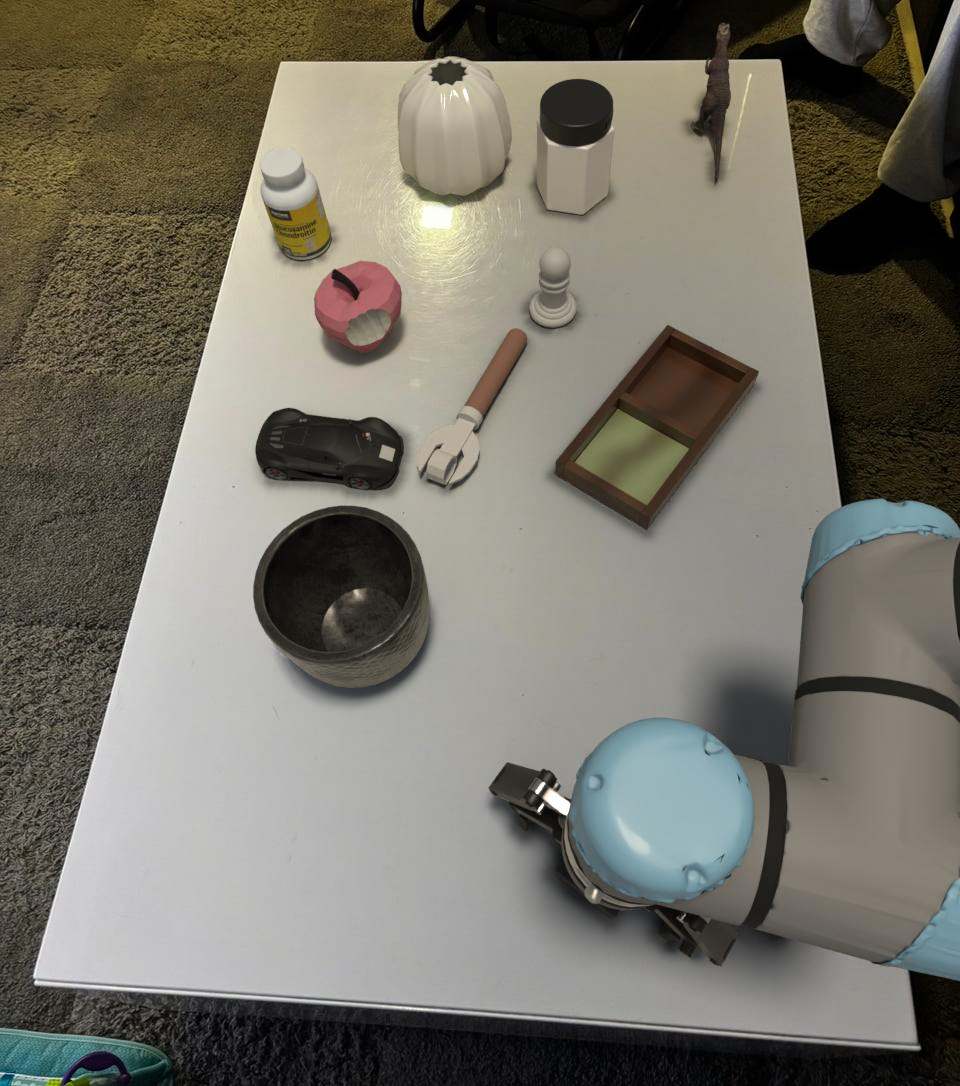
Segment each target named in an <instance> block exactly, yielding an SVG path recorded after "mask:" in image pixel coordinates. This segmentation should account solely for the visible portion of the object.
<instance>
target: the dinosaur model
mask: <svg viewBox="0 0 960 1086" xmlns="http://www.w3.org/2000/svg"><path fill="white" fill-rule="evenodd" d="M730 38H731V30H730V24H729V23H725V22H721V23H719V25H718V27H717V32H716V37H715V39H716V49H715V53H714V57H712V58H710V57H708V58H707V59H706V60H705V64H704V73H705V75H708V78H707V83H706V91H705V94H704V97H703V98H702V100H701V106H700V108H699V115H698V116H699V117H698V120H696V121H691V123H690V125H691V128H692V129H693V130H694V129H697V130H699V132H700V133H702V134H704V131H705V129H706V122H707V124H708V125H709V127H711V128H712V131H713V139H714V147H715V149H714V150H715V151H714V152H715V155H714V158H715V159H714V160H715V161H714V162H715V168H714V172H715V176H714V179H719V178H720V165H721V164H720V163H721V158H722V157H721V155H722V148H723V147H722V146H723V136H724V129H725V123H726V122H725V121H726V115H727V110H728V109H729V108H730V105H731V100H732V92H731V82H730V72H729V70H730V60H729V57H727V50H728V45H729V41H730ZM710 59H711V60H710ZM709 117H710V118H709Z"/></svg>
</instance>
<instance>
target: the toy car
mask: <svg viewBox="0 0 960 1086" xmlns="http://www.w3.org/2000/svg"><path fill="white" fill-rule="evenodd" d="M255 442H256V444H255V446H254V447H255V448H254V449H255V450H254V451H255V452H254V453H255V458H256V462H257V464H258V466H259V468H260V469H261V471H262V472H263V473H264V474H266V475H267V476H268V477H270V478H271V479H275V480H278V481H283V480H286V481H314V482H326V483H335V484H342V485H345V486H347V487H349V488H352V487H353V488H355V489H358V490H368V489H370V488H371V491H377V490H385V489H388V488H390V487H391V486H392V485H393V483H394V482H395V480H397V477H398V474H399V473H400V469H399V468H400V467H399V465H400V461H401V458H402V457H403V455H404V452H405V448H404V447H405V445H404V438H403V436H402V435H400V434H399V433H398V431H397V430H396V429H395V428H394V427H393V426H391V425H390V424H389V423H388V422H387V421H385V420H384V419H382V418H380V417H375V416H367V417H365V418H364V417H363V418H362V419H359V420H357V419H351V418H349V419H348V418H341V417H340V418H339V417H331V416H324V415H316V414H308V413H305V412H304V411H301V410H300V409H297V408H295V407H285V408H280V409H277V410H274V411H273V412H271V414H270V415H269V416H268V417H267V418H266V419H265V420H264V422H263V424H262V425H261V428H260V430H259V433H258V435H257V438H256V441H255Z"/></svg>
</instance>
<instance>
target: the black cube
mask: <svg viewBox="0 0 960 1086" xmlns="http://www.w3.org/2000/svg"><path fill="white" fill-rule="evenodd" d="M554 876H555V877H557V878H558V879H559V880H561V881H562V882H563V884H565V885H567V886H568V887H569V888H570V889H572V890H573V891H574V892H576V893H577V894H578V895H579V896H581V897H582V898H584V900H586V901H587V902H588V903H590V904H591V905H592V906H593V907H595V908H596V909H597V910H598V911H600V912H601V913H602V914H603V915H605V916H606V917H607V918H609V919H614V918H617V917H618V915H619V913H621V910H617V909H612V908H609V907H606V906H603V905H601V904H599V903H597V904H594V903H591V902H590V901H588V899H587V898H586V897H585V894H584V893H583V892H582V891H581V890H580V889H579V887H578V886H577V885H576V884H575V882H574V881H573V879H572V878H571V876H570V874H569V872H568V870H567V868H566V865H565V862H564V859H563V858H562V860H561V862H560V863H559V865H558V866H557V867H556V869H555V872H554Z"/></svg>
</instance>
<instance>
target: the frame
mask: <svg viewBox="0 0 960 1086" xmlns="http://www.w3.org/2000/svg"><path fill="white" fill-rule="evenodd" d="M759 374H760V370H758V369H756V368H753V367H751V366H749V365H747V364H745V363H743V362H741V361H740V360H737V359H736V358H734V357H732V356H730V355H727V354H726V353H724V352H722V351H720V350H718V349H716V348H714V347H712V346H710V345H708V344H706V343H704V342H702V341H701V340H698V339H696V338H694V337H693V336H691V335H689V334H686V333H685V332H683V331H681V330H679V329H676V328H675V327H673V326H671V325H669V324H667V325H665V326H664V328H663V329H662V331H661V332H660V333H659V334H658V336H657V337H656V338H655V339H654V341H653V342H652V343H651V344H650V345H649V347H648V348H647V349H646V350H645V351H644V352H643V354H642V355H641V356H640V358H638V360H637V361H636V362H635V364H634V365H633V366H632V367H631V369H630V370H629V371H628V372H627V373H626V375H625V376H624V377H623V378H622V379H621V380H620V382H619V383H618V384H617V385H616V387H615V388H614V389H613V390H612V392H610V394H609V396H608V397H607V398H606V399H605V401H604V402H602V404H601V405H600V406H599V407H598V409H597V410H596V411H595V413H594V414H593V415H592V416H591V417H590V418H589V419H588V421H587V422H586V423H585V425H584V426H583V427H582V429H581V430H580V431H579V432H578V433H577V435H576V436H575V437H574V438H573V440H571V442H570V443H569V444H568V446H567V447H566V448H565V449H564V450H563V452H562V453H561V454H560V455H559V456H558V457H557V459H556V460H555V471H554V475H555V476H557V477H559V478H560V479H562V480H564V481H565V482H567V483H569V484H570V485H571V486H574V487H575V488H576V489H578V490H580V491H582V492H583V493H585V494H586V495H589V497H592V498H593V499H595V500H597V501H598V502H600V503H601V504H603V505H604V506H607V507H608V508H610V509H611V510H613V511H615V512H617V513H618V514H620V515H622V516H623V517H625V518H627V519H628V520H630V521H631V522H633V523H634V524H636V525H638V526H640V527H641V528H643V529H645V530H646V531H648V529H649V528H650V527H651V526H652V524H653V523H654V522H655V520H656V518H657V517H658V516H659V515H660V513H661V512H662V511H663V509H664V508H665V507H666V505H667V504H668V502H669V501H670V500H671V498H672V497H673V496H674V494H675V493H676V492H677V490H678V489H679V488H680V486H681V485H682V484H683V482H684V481H685V480H686V478H687V477H688V475H689V474H690V473H691V471H693V469H694V467H695V466H696V465H697V463H698V462H699V461H700V460H701V458H702V457H703V455H704V454H705V452H706V451H707V450H708V449H709V447H710V446H711V444H712V443H713V442H714V441H715V439H716V438H717V437H718V435H719V434H720V432H721V431H722V430H723V428H724V427H725V426H726V424H727V423H728V421H729V420H730V419H731V418H732V417H733V415H734V413H735V412H736V411H737V410H738V408H739V407H740V405H741V404H742V403H743V401H744V400H745V398H747V396H748V395H749V393H750V392H751V390H752V389H753V388H754V386H755V384H756V381H757V379H758V376H759Z"/></svg>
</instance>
